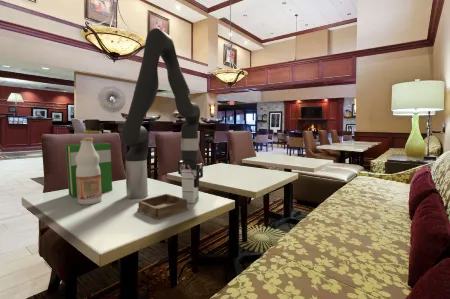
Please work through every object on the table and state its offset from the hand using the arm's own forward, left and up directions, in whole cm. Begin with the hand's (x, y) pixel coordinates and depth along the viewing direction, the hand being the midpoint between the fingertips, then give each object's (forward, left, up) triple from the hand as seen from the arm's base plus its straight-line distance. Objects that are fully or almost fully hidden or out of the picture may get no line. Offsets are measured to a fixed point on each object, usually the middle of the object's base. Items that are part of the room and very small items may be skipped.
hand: (190, 185), depth 110 cm
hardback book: (-47, -24, -7) cm, 53 cm away
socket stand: (+1, -15, -7) cm, 17 cm away
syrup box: (0, 0, -7) cm, 7 cm away
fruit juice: (-32, -30, -7) cm, 44 cm away
